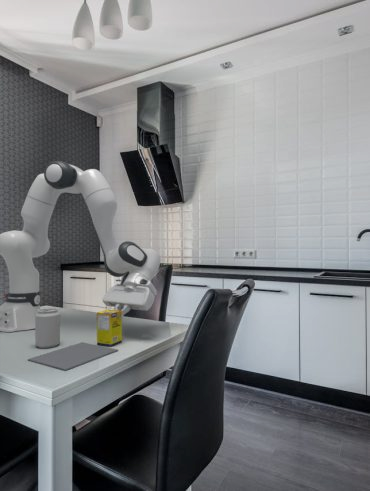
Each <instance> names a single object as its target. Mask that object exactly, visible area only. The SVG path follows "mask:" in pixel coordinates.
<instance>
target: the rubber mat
mask: <svg viewBox="0 0 370 491" xmlns="http://www.w3.org/2000/svg"><path fill="white" fill-rule="evenodd" d="M118 351H119V349H117V348H112V347H109V346H103V345H97V344H93V343H87V342H84V341H82V342H79V343H76V344H72V345H69V346H66V347H63V348H60V349H59V348H58V349H56V350H53V351H50V352H46V353H43V354H40V355H36V356H34V357H30V358H28V359H27V361H29V362H31V363H35V364H39V365H42V366H47V367H49V368H53V369H57V370H60V371H65V372H67V371H70V370H72V369H75V368H77V367H79V366H82V365H86V364H87V363H91V362H93V361H95V360H97V359H101V358H103V357H106V356H109V355H111V354H114V353H117V352H118Z"/></svg>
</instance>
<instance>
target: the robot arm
mask: <svg viewBox="0 0 370 491" xmlns="http://www.w3.org/2000/svg"><path fill="white" fill-rule="evenodd" d="M64 193H65V195H75V196H78V195H79V196H80V195H82V198H83V199H84V202H85V204H86V206H87V209H88V211H89V214H90V217H91V219H92V224H93V227H94V232H95V234H96V237H97V241H98V243H99V245H100V249H101V251H102V253H103V261H104V262H103V265H104V269H105V271H106V272H107V273H108V274H109V275H110V276H112V277H116V278H122V277H124V276H125V275H127V274H128V275H127V276H126V278H125V280H124V281H123V282H122V284H120V283H119V284H118V283H117V284H116V285H113V286H111V287H110V288H109V290H108V291H107V292H106V293H105V295H104V296H103V297H102V302H103V303H104V305H105V306H106V307H110V308H112V307H113V308H115V309H114V310H119V311H122V318H124V316H125V315H126V314H127V313H129V312H130V310H136V311H144V312H147V311H148V310H150V309H151V308H152V305H153V303H154V302H155V297H156V296H157V295H158V290H157V288H156V287H155V285H154V284H153V283H152V280H153V278H154V277H155V276H156V274H157V272H158V270H159V268H160V265H161V256H160V255H159V253H158V252H157V251H156V250H154V249H153V248H144V247H141V246H139V245H138V244H137V243H135V242H133V241H129V240H127V241H124V242H121V244H120V245H118V244H117V241H116V238H115V236H114V234H113V222H114V218H115V215H116V212H117V209H118V203H117V200H116V199H117V198H116V196H115V194H114V192H113V190H112V188H111V186H110V184H109V182H108V181H107V179H106V178H105V176H104V175H103V173H102V172H101V171H100V170H98V169H96V168H90V169H86V170H83V169H81V168H80V167H78V166H75V165H74V164H69V163H67V162H65V161H61V160H55V161H54V160H53V161H51V162H50V163H48V164H47V165H46V166H45V168H44V172H43V173H40V174H37V176H36V177H35V179H34V180H33V182H32V184H31V186H30V188H29V190H28V192H27V195H26V197H25V200H24V202H23V205H22V208H21V211H20V216H21V218H22V219H23V226H22V230H9V231H5V232H2V233H0V256H1V257H2V258H3V260H4V262H5V264H6V265H5V266H6V267H7V270H8V272H7V273H8V283H9V284H8V285H9V286H8V287H9V288H8V289H9V292H8V293H7V294H2V295H3V297H2V298H3V299H4V298H5V300H4V302H3V303H2V304H1V305H0V332H4V333H5V332H6V333H14V332H18V331H27V330H35V315H36V314H37V313H38V310H40V309H41V305H40V304H41V291H40V272H39V270H38V269H37V268H36V267H35V265H34V261H33V258H39V257H42V256H44V255H45V254H47V253H48V252H49V250H50V247H51V242H50V240H49V236H48V233H49V225H50V221H51V217H52V216H53V213H54V211H55V207H56V205H57V202H58V199H59V197H60V196H61V195H62V194H64Z"/></svg>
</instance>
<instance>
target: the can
mask: <svg viewBox="0 0 370 491" xmlns="http://www.w3.org/2000/svg"><path fill="white" fill-rule="evenodd" d="M34 330H35V331H34V333H35V342H34V343H35V344H34V345H35V346H36V347H38V349H51V348H54V347H57V346H58V345H59V344H60V342H61V313H60V311H59V309H58V308H57V307H48V308H47V307H46V308H45V307H44V308H40V310H38V313H37V314H36V315H35V328H34Z"/></svg>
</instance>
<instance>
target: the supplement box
mask: <svg viewBox="0 0 370 491" xmlns="http://www.w3.org/2000/svg"><path fill="white" fill-rule="evenodd" d="M122 319H123V317H122V311H121V310H120V311H119V310H115V309H104V310H99V311H97V312H96V345H98V346H103V347H109V348H112V347H114V346H117V345H119V344H121V343H122V341H123V338H122V336H123V334H122V332H123V330H122V329H123V328H122V327H123V326H122V325H123V322H122V321H123V320H122Z"/></svg>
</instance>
